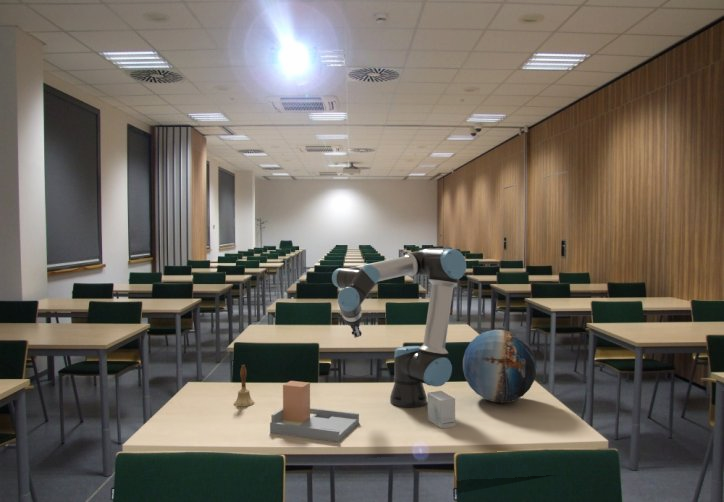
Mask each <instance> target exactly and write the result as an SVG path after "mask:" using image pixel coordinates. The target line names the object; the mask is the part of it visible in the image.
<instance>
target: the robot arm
mask: <svg viewBox="0 0 724 502" xmlns="http://www.w3.org/2000/svg"><path fill="white" fill-rule="evenodd" d="M466 270H467V262H466V258H465V256H464V255H463V253H462V252H461V251H460V250H458V249H454V248H448V247H447V248H443V247H442V248H440V247H439V248H438V247H437V248H435V247H428V248H424V249H420V250H416V251H413V252H407V253H405V254H404V255H403V256H401V257H395V258H391V259H387V260H381V261H378V262H377V261H376V262H372V263H365V264H363V265H361V264H360V265H357V266H353V267H346V268H344V267H342V268H341V267H340V268H337V269H335V270H334V271H333V272H332V275H331V281H332V284H333V285H334V286H335V287H336V288H340V290H339V292H338V295H337V304H338V307H339V310H340V312H339V315H341V316H342V320H343V322H344V323H345V324H346V325H347V326H350V329H351V335H353V338H355V339H356V338H358V337H362V331H361V329H360V324H361V322H362V320H363V310H362V304H363V303H364V301H365V300H366V298H367V297H368V296H369V294H370V293H371V291H372V290H373V289H374V288H375V286H376V285H377V283H378V282H382V281H386V280H391V279H394V278H399V277H404V276H409V277H415V276H426V277H428V281H429V282H430V284H431V287H430V295H429V302H428V308H427V314H426V315H427V316H426V323H425V329H424V336H423V342H422V343H423V344H422V345H421V346H420V345H407V346H401V347H397V348H395V350H394V356H393V359H394V361H393V362H394V363H393V365H394V384H393V387H392V390H391V393H390V395H389V396H390V398H389V399H390V404H392V405H393V406H395V407H396V406H397V407H402V408H418V407H423V406H425V405H427V404H428V398H427V394H426V391H425V388H424V384H425V385H427V386H430V387H431V386H432V387H434V388H435V387H442V386H443V385H445V384H446V383H447V382H448V381H449V380H450V378H451V376H452V374H453V366H452V364H451V362H452V361H450V360H449V358H448V356H449V352H448V350H447V349H446V344H447V343H446V342H447V335H448V327H449V322H450V315H451V314H450V313H451V306H452V299H453V293H454V292H453V291H454V288H455V287H456V286H457V285H458V283H459V279H461V278H463V276H464V275H465V273H466Z"/></svg>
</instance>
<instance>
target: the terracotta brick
mask: <svg viewBox="0 0 724 502" xmlns="http://www.w3.org/2000/svg"><path fill="white" fill-rule="evenodd" d="M282 408H283V420H285V421H293V422H300V423H303V422H305V421H306V420H308V419H309V418H310V408H311V383H310V382H305V381H296V380H290V381H287V382H286V383H284V384H282Z"/></svg>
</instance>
